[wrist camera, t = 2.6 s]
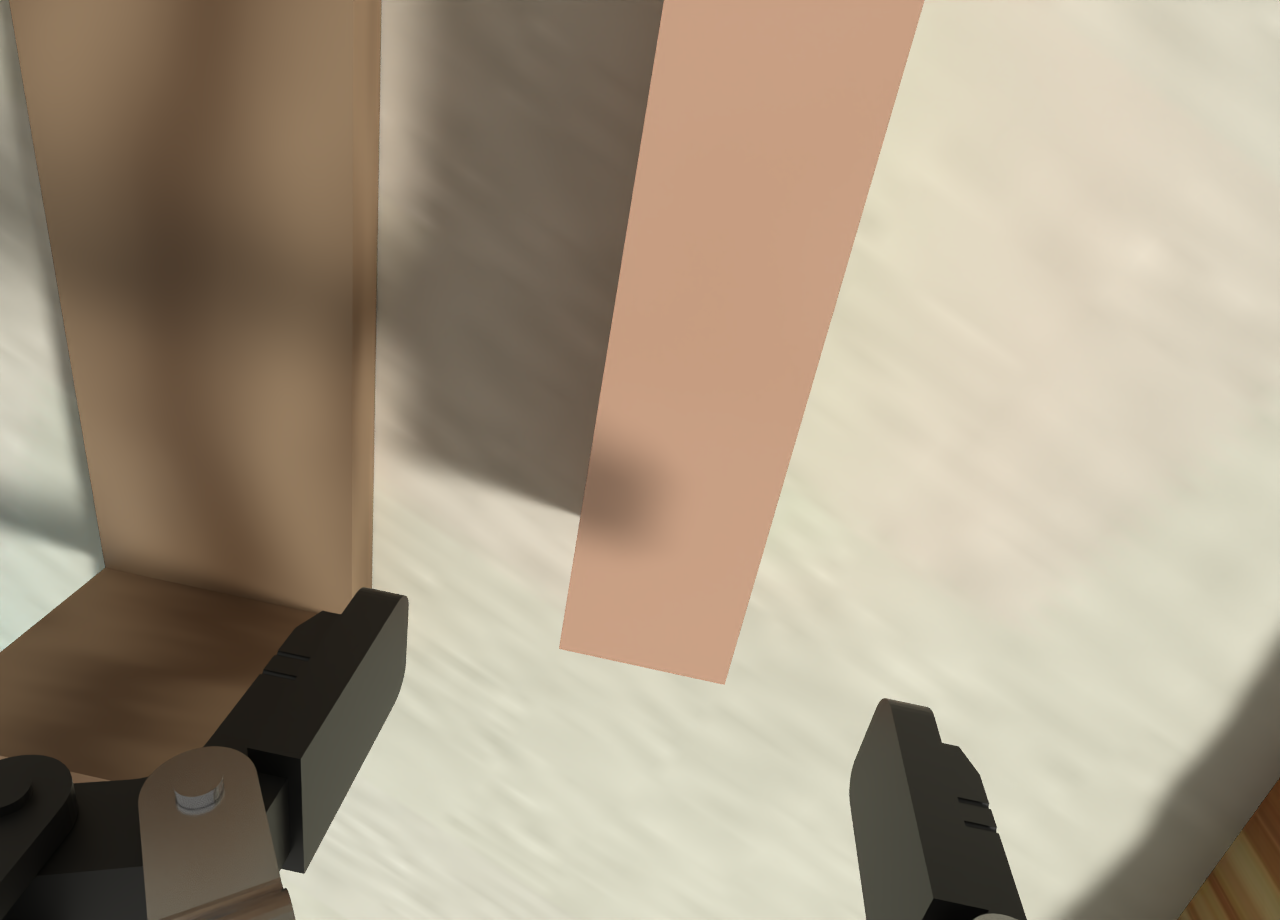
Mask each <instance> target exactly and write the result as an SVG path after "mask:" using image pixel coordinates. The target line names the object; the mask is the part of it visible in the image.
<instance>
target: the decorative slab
mask: <svg viewBox="0 0 1280 920" xmlns="http://www.w3.org/2000/svg"><path fill="white" fill-rule="evenodd" d="M1177 920H1280V778H1279V780H1278V781H1277V782H1276V784H1275V785H1274V786H1273V788H1272V789H1271V791H1270V792H1269V793H1268V795H1267V796H1266V798H1265V799H1264V800H1263V802H1262V803H1261V804H1260V806H1259V807H1258V809H1257V810H1256V811H1255V813H1254V814H1253V815H1252V817H1251V818H1250V820H1249V821H1248V822H1247V824H1246V825H1245V827H1244V828H1243V829H1242V831H1241V832H1240V833H1239V835H1238V836H1237V838H1236V839H1235V840H1234V842H1233V843H1232V845H1231V846H1230V847H1229V849H1228V850H1227V851H1226V853H1225V854H1224V856H1223V857H1222V858H1221V860H1220V861H1219V863H1218V864H1217V865H1216V867H1215V868H1214V869H1213V871H1212V872H1211V874H1210V875H1209V876H1208V878H1207V879H1206V881H1205V882H1204V883H1203V885H1202V886H1201V887H1200V889H1199V890H1198V892H1197V893H1196V894H1195V896H1194V897H1193V899H1192V900H1191V901H1190V903H1189V904H1188V905H1187V907H1186V908H1185V910H1184V911H1183V912H1182V914H1181V915H1180V917H1179V918H1178V919H1177Z"/></svg>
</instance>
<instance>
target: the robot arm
mask: <svg viewBox="0 0 1280 920" xmlns="http://www.w3.org/2000/svg"><path fill="white" fill-rule="evenodd" d="M408 606H409V604H408V598H407V596H404V595H399V594H395V593H390V592H385V591H380V590H376V589H371V588H366V587H362V588H360V589H359V590H358V591H357V593H356V594H355V596H354V597H353V598H352V600H351V601H350V603H349V604H348V605H347V607H346V608H345V610H344V611H343V612H342V614H337V613H332V612H327V611H321V612H319V613H318V614H316V615H315V616H313V617H312V618H310V619H308V620H307V621H305V622H304V623H302V624H300V625H299V626H297V627H296V628H295V629H294V630H293V631H292V633H291V634H290V635H289V636H288V638H287V639H286V640H285V642H284V643H283V644H282V645H281V647H280V648H279V649H278V652H277V655H274V656H273V657H272V658H271V660H270V661H269V662H268V664H267V665H266V666H265V668H264V669H263V673H262V674H259V675H258V677H257V678H256V679H255V681H254V682H253V683H252V684H251V686H250V687H249V688H248V690H247V691H246V692H245V694H244V695H243V696H242V697H241V699H240V700H239V701H238V703H237V704H236V705H235V707H234V708H233V709H232V710H231V712H230V713H229V714H228V716H227V717H226V718H225V720H224V721H223V722H222V723H221V725H220V726H219V727H218V729H217V730H216V731H215V733H214V734H213V735H212V736H211V738H210V739H209V740H208V742H207V743H206V744H205V745H204V746H203V747H201V748H196V749H192V750H189V751H186V752H183V753H181V754H179V755H176V756H174V757H172V758H171V759H169V760H167V761H166V762H164V763H163V764H162V765H160V766H159V767H158V768H156V769H155V770H154V771H153V772H152V773H151V774H150V776H148V777H144V778H138V779H130V780H115V781H100V782H85V783H73V780H72V776H71V773H70V770H69V769H68V768H67V766H66V765H65V764H63V763H62V762H61V761H59V760H57V759H55V758H53V757H48V756H44V755H20V756H13V757H9V758H5V759H1V760H0V920H295V916H294V911H293V907H292V903H291V899H290V896H289V893H288V890H287V889H286V888H285V889H283V886H282V882H281V878H280V874H279V871H280V870H281V869H285V870H290V871H294V872H299V873H303V874H304V873H305V872H306V870H307V868H308V866H309V864H310V862H311V860H312V858H313V856H314V855H315V853H316V851H317V849H318V847H319V845H320V843H321V841H322V839H323V838H324V836H325V834H326V832H327V830H328V828H329V826H330V824H331V822H332V821H333V819H334V817H335V815H336V813H337V811H338V809H339V807H340V805H341V804H342V802H343V800H344V798H345V796H346V794H347V792H348V790H349V789H350V787H351V785H352V783H353V781H354V779H355V777H356V775H357V773H358V772H359V770H360V768H361V766H362V764H363V762H364V760H365V758H366V756H367V755H368V753H369V751H370V749H371V747H372V745H373V743H374V741H375V739H376V738H377V736H378V734H379V732H380V730H381V728H382V726H383V724H384V722H385V721H386V719H387V717H388V715H389V713H390V711H391V709H392V707H393V706H394V704H395V701H396V699H397V697H398V694H399V692H400V689H401V685H402V682H403V678H404V673H405V666H406V648H407V628H408ZM849 796H850V807H851V814H852V821H853V828H854V835H855V842H856V849H857V856H858V863H859V871H860V878H861V885H862V892H863V899H864V906H865V913H866V920H1027V919H1026V916H1025V913H1024V910H1023V907H1022V904H1021V900H1020V897H1019V894H1018V891H1017V888H1016V885H1015V882H1014V879H1013V876H1012V873H1011V870H1010V867H1009V864H1008V860H1007V857H1006V854H1005V851H1004V848H1003V845H1002V842H1001V839H1000V836H999V834H998V833H996V828H997V827H996V823H995V820H994V817H993V814H992V811H991V809H989V808H988V806H989V802H988V799H987V796H986V793H985V790H984V786H983V783H982V780H981V777H980V774H979V773H978V772H977V770H976V769H975V768H974V766H973V765H972V764H971V762H970V761H969V760H968V758H967V757H966V756H965V754H964V753H963V752H962V750H961V749H960V748H959V747H958V746H954V745H949V744H944V743H942V742H941V738H940V735H939V731H938V728H937V724H936V721H935V717H934V714H933V712H932V710H931V709H930V708H928V707H924V706H919V705H915V704H910V703H905V702H900V701H896V700H891V699H886V698H883V699H882V700H881V701H880V702H879V704H878V706H877V708H876V710H875V713H874V715H873V718H872V720H871V722H870V725H869V727H868V730H867V732H866V734H865V737H864V739H863V742H862V744H861V747H860V749H859V751H858V754H857V756H856V759H855V761H854V764H853V768H852V772H851V778H850V789H849Z"/></svg>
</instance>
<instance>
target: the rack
mask: <svg viewBox="0 0 1280 920" xmlns="http://www.w3.org/2000/svg"><path fill="white" fill-rule="evenodd" d="M9 3H10V9H11V15H12V21H13V27H14V33H15V39H16V44H17V50H18V56H19V62H20V68H21V74H22V80H23V86H24V92H25V98H26V103H27V109H28V115H29V121H30V127H31V133H32V139H33V145H34V151H35V156H36V162H37V168H38V174H39V180H40V186H41V192H42V198H43V204H44V209H45V215H46V221H47V227H48V233H49V239H50V245H51V251H52V257H53V263H54V268H55V274H56V280H57V286H58V292H59V298H60V304H61V310H62V316H63V321H64V327H65V333H66V339H67V345H68V351H69V357H70V363H71V369H72V374H73V380H74V386H75V392H76V398H77V404H78V410H79V416H80V422H81V427H82V433H83V439H84V445H85V451H86V457H87V463H88V469H89V475H90V481H91V486H92V492H93V498H94V504H95V510H96V516H97V522H98V528H99V534H100V539H101V545H102V551H103V557H104V563H105V568H104V569H103V570H102V571H101V572H99V573H98V574H97V575H96V576H94V577H93V578H92V579H91V580H89V581H88V582H87V583H86V584H84V585H83V586H82V587H81V588H79V589H78V590H77V591H76V592H75V593H73V594H72V595H71V596H70V597H68V598H67V599H66V600H65V601H63V602H62V603H61V604H60V605H58V606H57V607H56V608H55V609H53V610H52V611H51V612H50V613H49V614H47V615H46V616H45V617H44V618H42V619H41V620H40V621H39V622H37V623H36V624H35V625H34V626H32V627H31V628H30V629H29V630H27V631H26V632H25V633H24V634H23V635H21V636H20V637H19V638H18V639H16V640H15V641H14V642H13V643H11V644H10V645H9V646H8V647H6V648H5V649H4V650H3V651H1V652H0V760H1V759H5V758H9V757H13V756H20V755H44V756H48V757H53V758H55V759H57V760H59V761H61V762H62V763H63V764H65V765H66V766H67V768H68V769H69V770H70V773H71V776H72V780H73V783H85V782H100V781H115V780H130V779H138V778H144V777H148V776H150V774H151V773H152V772H153V771H154V770H155V769H156V768H158V767H159V766H160V765H162V764H163V763H164V762H166V761H167V760H169V759H171V758H172V757H174V756H176V755H179V754H181V753H183V752H186V751H189V750H192V749H196V748H201V747H203V746H204V745H205V744H206V743H207V742H208V740H209V739H210V738H211V736H212V735H213V734H214V733H215V731H216V730H217V729H218V727H219V726H220V725H221V723H222V722H223V721H224V720H225V718H226V717H227V716H228V714H229V713H230V712H231V710H232V709H233V708H234V707H235V705H236V704H237V703H238V701H239V700H240V699H241V697H242V696H243V695H244V694H245V692H246V691H247V690H248V688H249V687H250V686H251V684H252V683H253V682H254V681H255V679H256V678H257V677H258V675H259V674H262V673H263V669H264V668H265V666H266V665H267V664H268V662H269V661H270V660H271V658H272V657H273V656H274V655H277V652H278V649H279V648H280V647H281V645H282V644H283V643H284V642H285V640H286V639H287V638H288V636H289V635H290V634H291V633H292V631H293V630H294V629H295V628H296V627H297V626H299V625H300V624H302V623H304V622H305V621H307V620H308V619H310V618H312V617H313V616H315V615H316V614H318V613H319V612H321V611H327V612H332V613H337V614H342V612H343V611H344V610H345V608H346V607H347V605H348V604H349V603H350V601H351V600H352V598H353V597H354V596H355V594H356V593H357V591H358V590H359V589H360V588H362V587H366V588H371V589H372V539H373V478H374V417H375V356H376V295H377V234H378V173H379V112H380V51H381V0H9Z"/></svg>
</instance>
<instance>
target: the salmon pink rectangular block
mask: <svg viewBox="0 0 1280 920" xmlns="http://www.w3.org/2000/svg"><path fill="white" fill-rule="evenodd" d="M923 3H924V0H664V3H663V9H662V15H661V21H660V28H659V34H658V40H657V46H656V52H655V59H654V65H653V71H652V77H651V83H650V89H649V96H648V102H647V108H646V114H645V120H644V127H643V133H642V139H641V145H640V151H639V157H638V164H637V170H636V176H635V182H634V188H633V195H632V201H631V207H630V213H629V219H628V226H627V232H626V238H625V244H624V250H623V256H622V263H621V269H620V275H619V281H618V287H617V294H616V300H615V306H614V312H613V318H612V324H611V331H610V337H609V343H608V349H607V355H606V362H605V368H604V374H603V380H602V386H601V392H600V399H599V405H598V411H597V417H596V423H595V430H594V436H593V442H592V448H591V454H590V461H589V467H588V473H587V479H586V485H585V491H584V498H583V504H582V510H581V516H580V522H579V529H578V535H577V541H576V547H575V553H574V559H573V566H572V572H571V578H570V584H569V590H568V597H567V603H566V609H565V615H564V621H563V627H562V634H561V640H560V646H559V649H563V650H567V651H572V652H577V653H581V654H586V655H590V656H595V657H600V658H604V659H609V660H613V661H618V662H623V663H627V664H632V665H636V666H641V667H646V668H650V669H655V670H659V671H664V672H668V673H673V674H678V675H682V676H687V677H691V678H696V679H701V680H705V681H710V682H714V683H719V684H725V681H726V678H727V674H728V671H729V667H730V664H731V660H732V657H733V654H734V650H735V647H736V643H737V640H738V637H739V633H740V630H741V626H742V623H743V619H744V616H745V613H746V609H747V606H748V602H749V599H750V595H751V592H752V589H753V585H754V582H755V578H756V575H757V571H758V568H759V565H760V561H761V558H762V554H763V551H764V548H765V544H766V541H767V537H768V534H769V530H770V527H771V524H772V520H773V517H774V513H775V510H776V506H777V503H778V500H779V496H780V493H781V489H782V486H783V483H784V479H785V476H786V472H787V469H788V465H789V462H790V459H791V455H792V452H793V448H794V445H795V441H796V438H797V435H798V431H799V428H800V424H801V421H802V417H803V414H804V411H805V407H806V404H807V400H808V397H809V394H810V390H811V387H812V383H813V380H814V376H815V373H816V370H817V366H818V363H819V359H820V356H821V352H822V349H823V346H824V342H825V339H826V335H827V332H828V329H829V325H830V322H831V318H832V315H833V311H834V308H835V305H836V301H837V298H838V294H839V291H840V287H841V284H842V281H843V277H844V274H845V270H846V267H847V263H848V260H849V257H850V253H851V250H852V246H853V243H854V240H855V236H856V233H857V229H858V226H859V222H860V219H861V216H862V212H863V209H864V205H865V202H866V198H867V195H868V192H869V188H870V185H871V181H872V178H873V175H874V171H875V168H876V164H877V161H878V157H879V154H880V151H881V147H882V144H883V140H884V137H885V133H886V130H887V127H888V123H889V120H890V116H891V113H892V109H893V106H894V103H895V99H896V96H897V92H898V89H899V86H900V82H901V79H902V75H903V72H904V68H905V65H906V62H907V58H908V55H909V51H910V48H911V44H912V41H913V38H914V34H915V31H916V27H917V24H918V20H919V17H920V14H921V10H922V7H923Z"/></svg>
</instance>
